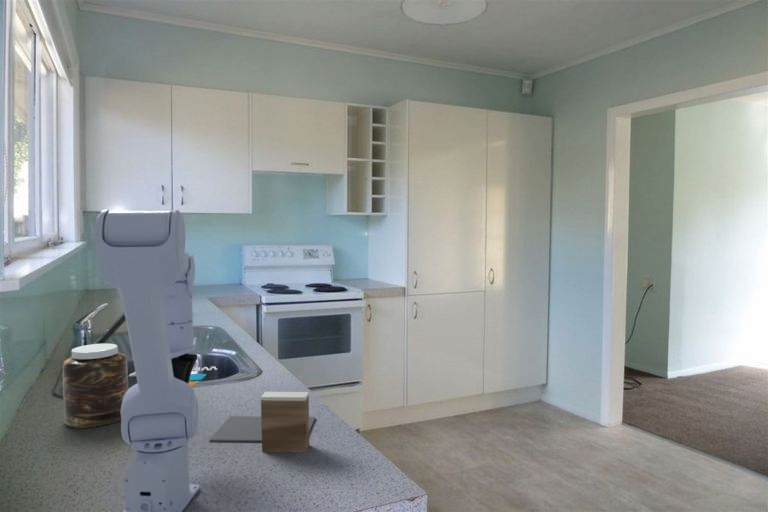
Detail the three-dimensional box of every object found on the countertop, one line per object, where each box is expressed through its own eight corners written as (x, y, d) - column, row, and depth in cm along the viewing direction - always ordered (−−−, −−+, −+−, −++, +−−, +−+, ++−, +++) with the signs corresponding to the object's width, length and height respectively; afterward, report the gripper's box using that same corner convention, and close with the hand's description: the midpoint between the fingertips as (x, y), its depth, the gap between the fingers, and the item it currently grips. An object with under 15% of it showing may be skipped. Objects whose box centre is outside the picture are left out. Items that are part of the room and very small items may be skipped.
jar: (105, 405, 122) (102, 339, 121) (140, 413, 116) (138, 344, 115) (52, 422, 111) (49, 350, 110) (88, 432, 106) (85, 357, 105)
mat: (304, 442, 101) (304, 440, 101) (209, 441, 101) (209, 439, 101) (315, 418, 113) (315, 417, 113) (229, 418, 113) (229, 416, 113)
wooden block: (306, 452, 97) (305, 397, 96) (262, 451, 97) (260, 397, 96) (309, 445, 100) (308, 392, 99) (266, 444, 100) (265, 391, 99)
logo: (217, 364, 153) (215, 385, 134) (217, 368, 153) (215, 389, 134) (131, 370, 147) (115, 393, 128) (131, 374, 147) (115, 397, 128)
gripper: (170, 314, 101) (172, 385, 102) (131, 329, 86) (134, 413, 87) (207, 314, 100) (209, 385, 101) (174, 330, 86) (177, 413, 87)
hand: (177, 398), depth 94 cm, fingers closed
